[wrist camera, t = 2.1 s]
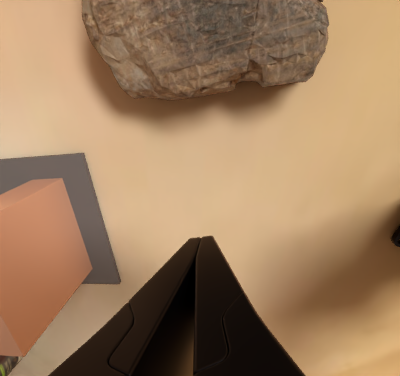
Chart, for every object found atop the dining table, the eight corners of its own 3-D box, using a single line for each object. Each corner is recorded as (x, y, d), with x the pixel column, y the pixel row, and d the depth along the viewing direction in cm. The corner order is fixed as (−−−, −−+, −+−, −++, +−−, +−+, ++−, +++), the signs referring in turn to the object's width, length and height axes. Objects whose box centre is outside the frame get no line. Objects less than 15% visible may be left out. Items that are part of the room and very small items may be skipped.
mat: (83, 152, 21) (81, 154, 20) (120, 281, 26) (119, 284, 26) (-69, 164, 23) (-74, 165, 23) (-8, 279, 29) (-11, 281, 28)
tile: (62, 177, 22) (-44, 234, 13) (92, 268, 25) (23, 357, 17) (29, 179, 22) (-93, 235, 14) (63, 268, 26) (-16, 353, 18)
